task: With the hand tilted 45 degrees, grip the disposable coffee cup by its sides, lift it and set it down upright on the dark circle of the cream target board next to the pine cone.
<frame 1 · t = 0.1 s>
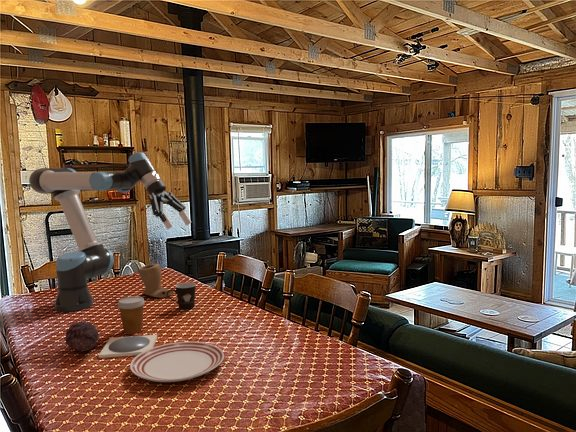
hand: (180, 225, 181), 36 cm above the table, tool tilted 35°, fingers open, 13 cm apart
disposable coffee cup: (133, 331, 159), on the table
dinner plate: (178, 368, 130), on the table
target board: (129, 347, 145), on the table
coffee mug: (183, 308, 185), on the table
stone cup: (155, 296, 204), on the table
pine cone: (83, 351, 142), on the table
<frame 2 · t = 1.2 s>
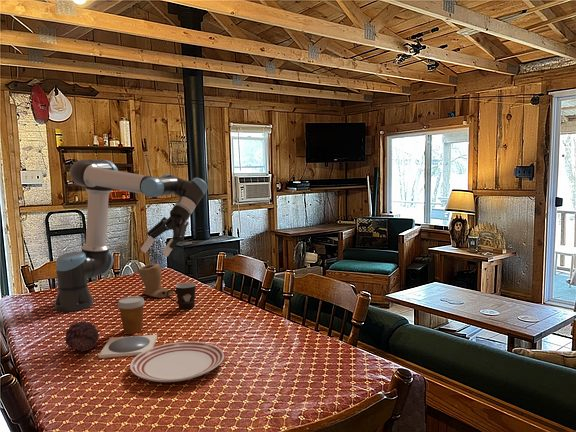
hand: (153, 252, 165), 28 cm above the table, tool tilted 45°, fingers open, 13 cm apart
nothing on the table moved.
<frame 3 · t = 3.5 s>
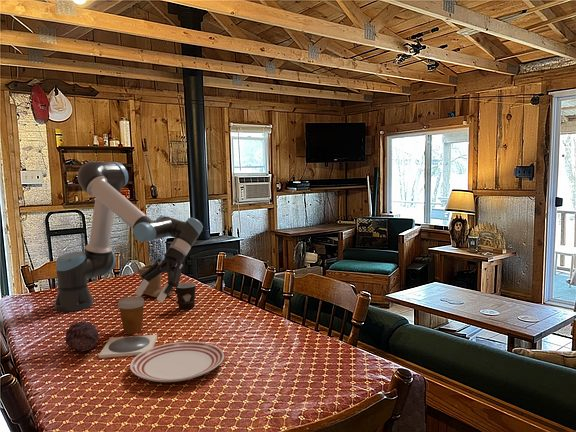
hand: (147, 298, 162), 11 cm above the table, tool tilted 45°, fingers open, 13 cm apart
nothing on the table moved.
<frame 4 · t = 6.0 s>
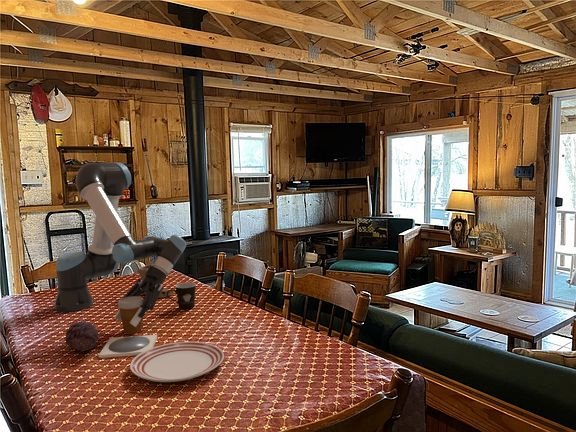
hand: (124, 322, 156), 4 cm above the table, tool tilted 45°, fingers closed on disposable coffee cup, 9 cm apart
disposable coffee cup: (133, 331, 159), on the table, touching gripper
everything else where it was.
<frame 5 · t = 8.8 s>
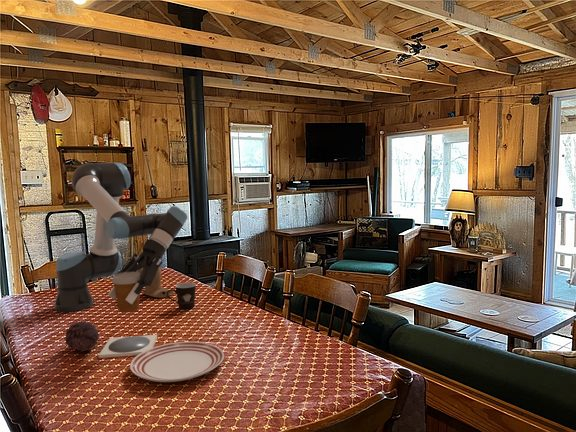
hand: (119, 299, 141), 17 cm above the table, tool tilted 45°, fingers closed on disposable coffee cup, 9 cm apart
disposable coffee cup: (129, 310, 144), point 13 cm above the table, touching gripper
everything else where it was.
when the fingers open (7 cm above the table, at t = 11.8 s): disposable coffee cup drops 1 cm, resting on target board.
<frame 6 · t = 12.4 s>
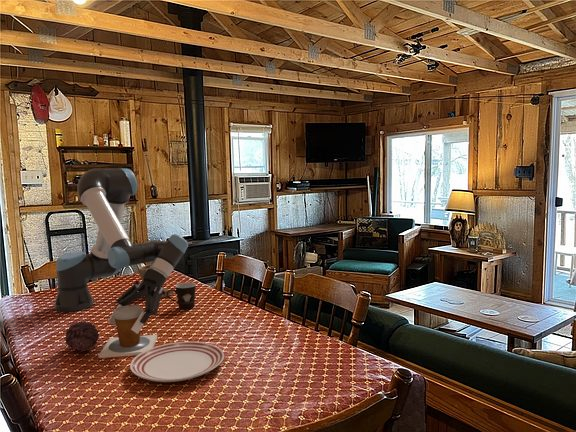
hand: (122, 327, 142), 8 cm above the table, tool tilted 45°, fingers open, 13 cm apart
disposable coffee cup: (129, 344, 145), point 1 cm above the table, touching target board
everything else where it was.
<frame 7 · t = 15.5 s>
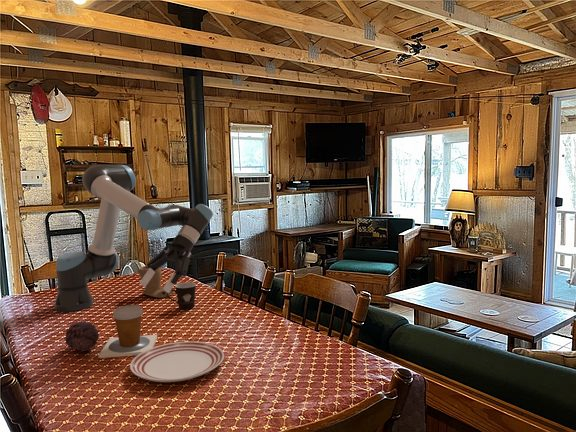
hand: (153, 288, 152), 18 cm above the table, tool tilted 45°, fingers open, 13 cm apart
nothing on the table moved.
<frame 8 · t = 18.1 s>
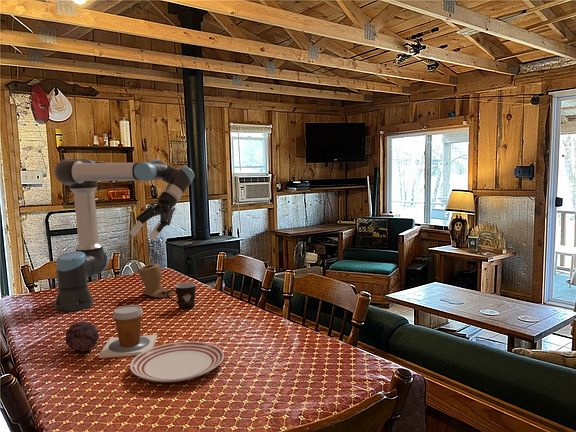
hand: (141, 236, 174), 33 cm above the table, tool tilted 45°, fingers open, 13 cm apart
nothing on the table moved.
at the end: disposable coffee cup inside the target area on the target board (0.1 cm from its centre), point 1.0 cm above the target board's base; disposable coffee cup tilted 0°; the gripper is holding nothing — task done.
